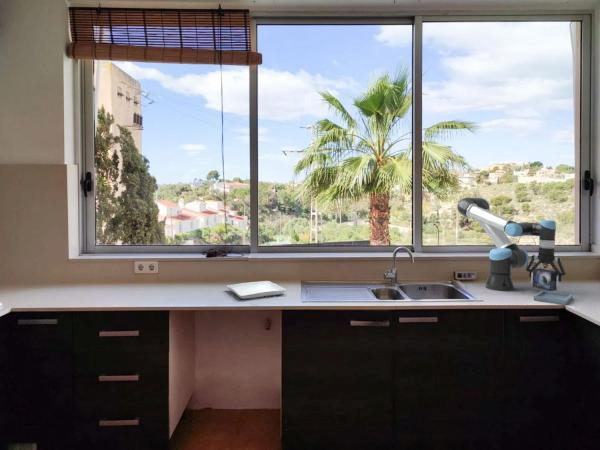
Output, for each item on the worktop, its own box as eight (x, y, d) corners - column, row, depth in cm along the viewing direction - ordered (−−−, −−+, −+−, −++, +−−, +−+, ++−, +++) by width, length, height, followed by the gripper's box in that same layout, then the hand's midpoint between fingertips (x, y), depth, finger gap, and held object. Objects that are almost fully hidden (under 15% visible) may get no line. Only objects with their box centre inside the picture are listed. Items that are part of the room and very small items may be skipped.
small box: (531, 286, 220) (532, 268, 219) (539, 285, 223) (540, 268, 222) (549, 291, 210) (550, 272, 210) (557, 289, 213) (558, 271, 212)
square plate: (225, 291, 223) (225, 284, 223) (268, 286, 236) (268, 280, 235) (240, 301, 199) (240, 294, 199) (287, 295, 212) (287, 289, 211)
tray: (533, 300, 198) (533, 295, 198) (542, 294, 211) (542, 290, 211) (566, 305, 189) (566, 300, 188) (572, 298, 201) (572, 294, 201)
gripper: (521, 246, 220) (519, 282, 222) (571, 250, 204) (568, 290, 205) (524, 244, 226) (522, 280, 227) (573, 248, 209) (571, 287, 211)
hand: (544, 285), depth 216 cm, fingers closed on small box, 12 cm apart
